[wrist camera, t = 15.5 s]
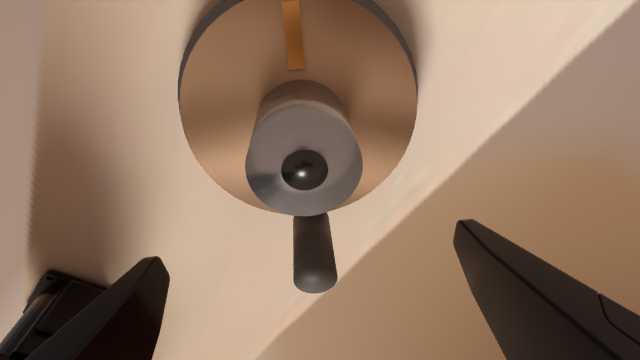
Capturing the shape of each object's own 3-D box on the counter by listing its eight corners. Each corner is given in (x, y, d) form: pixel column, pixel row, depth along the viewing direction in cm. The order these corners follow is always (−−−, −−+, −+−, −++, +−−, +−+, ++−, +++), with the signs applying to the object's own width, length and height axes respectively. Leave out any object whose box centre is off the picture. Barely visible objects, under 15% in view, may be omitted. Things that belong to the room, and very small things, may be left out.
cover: (309, 177, 19) (313, 232, 15) (238, 132, 18) (221, 181, 13) (364, 117, 18) (387, 161, 13) (292, 58, 16) (293, 88, 11)
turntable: (398, 213, 23) (429, 281, 18) (222, 230, 23) (201, 304, 18) (423, -22, 15) (491, -22, 10) (151, -3, 15) (75, 7, 10)
